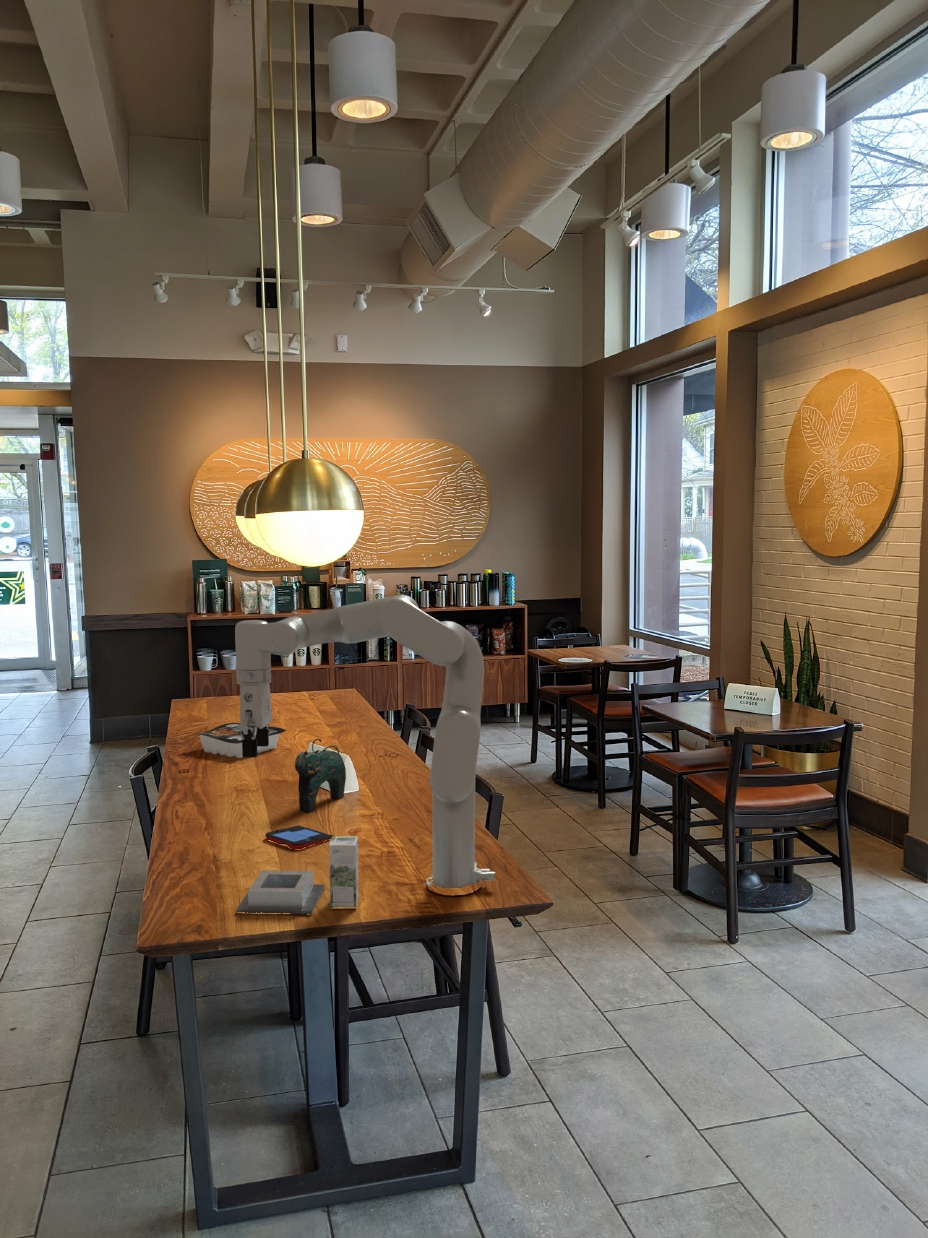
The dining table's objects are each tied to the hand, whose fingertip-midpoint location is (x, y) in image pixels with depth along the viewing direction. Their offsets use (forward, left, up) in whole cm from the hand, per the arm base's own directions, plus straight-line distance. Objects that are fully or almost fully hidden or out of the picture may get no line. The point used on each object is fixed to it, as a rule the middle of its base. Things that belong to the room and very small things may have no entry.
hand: (256, 751), depth 207 cm
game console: (-2, -30, -32) cm, 44 cm away
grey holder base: (-7, +9, -31) cm, 33 cm away
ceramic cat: (-2, -60, -31) cm, 68 cm away
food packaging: (+40, -123, -31) cm, 133 cm away
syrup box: (-21, +11, -31) cm, 39 cm away
